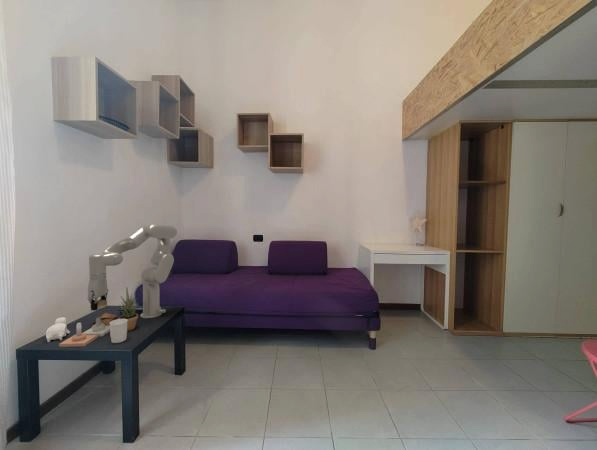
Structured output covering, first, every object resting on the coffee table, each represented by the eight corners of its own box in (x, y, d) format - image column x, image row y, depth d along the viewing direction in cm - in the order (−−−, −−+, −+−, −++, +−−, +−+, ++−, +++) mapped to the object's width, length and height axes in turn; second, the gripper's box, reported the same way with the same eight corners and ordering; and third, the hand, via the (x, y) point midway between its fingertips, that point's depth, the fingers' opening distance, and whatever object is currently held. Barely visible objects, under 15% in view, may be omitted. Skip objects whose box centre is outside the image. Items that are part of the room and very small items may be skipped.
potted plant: (123, 326, 162) (122, 284, 162) (140, 324, 164) (140, 284, 164) (115, 333, 153) (114, 289, 152) (134, 331, 155) (133, 288, 154)
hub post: (97, 337, 147) (97, 319, 146) (84, 346, 137) (84, 326, 136) (74, 338, 146) (73, 319, 146) (59, 346, 136) (58, 326, 136)
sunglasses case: (109, 325, 162) (102, 316, 161) (97, 333, 160) (90, 324, 159) (118, 315, 179) (112, 307, 178) (107, 322, 177) (101, 313, 176)
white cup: (108, 344, 138) (107, 325, 138) (111, 338, 146) (111, 319, 145) (126, 342, 142) (126, 323, 141) (128, 336, 149) (128, 317, 149)
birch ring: (109, 304, 157) (109, 299, 157) (101, 308, 150) (101, 303, 150) (96, 304, 157) (96, 299, 156) (88, 309, 150) (87, 303, 150)
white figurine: (66, 344, 145) (72, 324, 157) (64, 331, 142) (71, 312, 154) (44, 347, 141) (53, 327, 153) (42, 335, 138) (51, 315, 150)
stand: (114, 328, 159) (114, 314, 159) (102, 336, 148) (102, 321, 148) (94, 328, 159) (94, 314, 158) (81, 336, 148) (80, 322, 147)
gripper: (101, 273, 161) (101, 302, 162) (79, 280, 144) (80, 313, 144) (114, 272, 162) (115, 302, 162) (94, 279, 144) (95, 313, 145)
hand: (99, 307), depth 153 cm, fingers closed on birch ring, 7 cm apart
